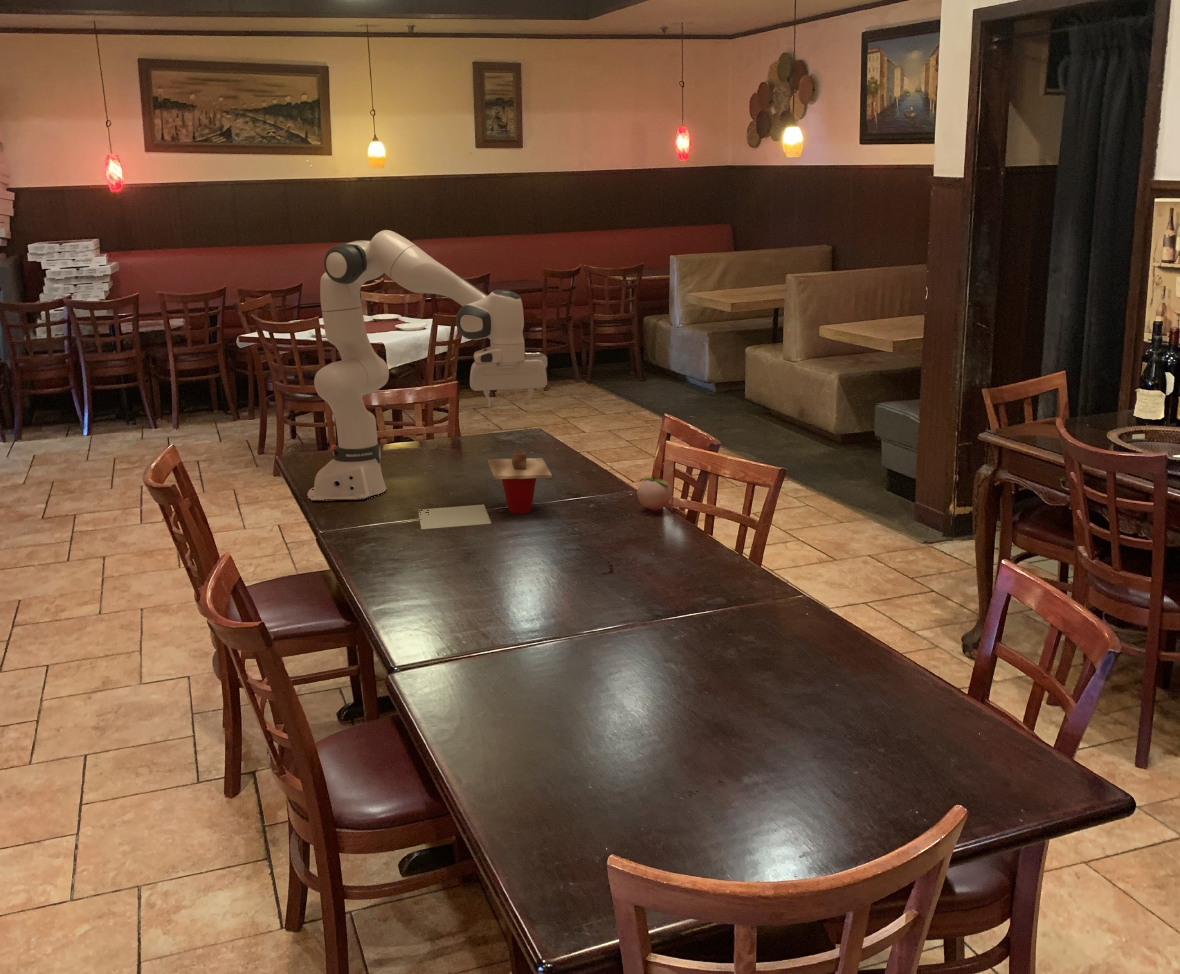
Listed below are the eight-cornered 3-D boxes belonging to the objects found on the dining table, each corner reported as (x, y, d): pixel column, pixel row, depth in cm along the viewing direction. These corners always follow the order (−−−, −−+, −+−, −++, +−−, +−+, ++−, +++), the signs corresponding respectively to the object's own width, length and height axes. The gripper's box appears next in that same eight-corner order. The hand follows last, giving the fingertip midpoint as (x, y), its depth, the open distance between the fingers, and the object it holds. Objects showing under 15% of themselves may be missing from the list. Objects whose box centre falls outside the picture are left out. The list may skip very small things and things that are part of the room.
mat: (421, 531, 284) (421, 529, 284) (418, 511, 301) (418, 509, 301) (491, 525, 287) (491, 523, 287) (484, 506, 304) (484, 504, 304)
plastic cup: (523, 521, 290) (521, 476, 287) (492, 514, 296) (490, 471, 293) (549, 511, 298) (547, 467, 295) (518, 504, 305) (517, 462, 302)
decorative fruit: (631, 513, 294) (630, 477, 291) (644, 505, 301) (643, 470, 298) (663, 518, 290) (663, 481, 287) (676, 509, 297) (676, 473, 294)
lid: (494, 479, 286) (494, 461, 284) (487, 462, 300) (487, 445, 298) (551, 477, 289) (552, 460, 287) (542, 460, 303) (542, 444, 301)
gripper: (545, 350, 294) (546, 401, 297) (468, 353, 290) (470, 405, 294) (549, 353, 288) (549, 406, 291) (470, 357, 284) (472, 409, 288)
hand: (509, 405), depth 293 cm, fingers open, 8 cm apart
